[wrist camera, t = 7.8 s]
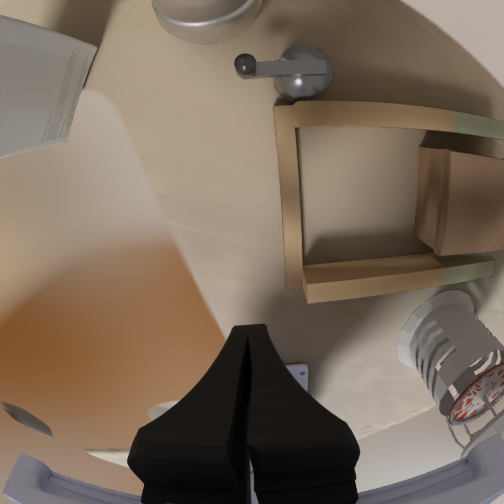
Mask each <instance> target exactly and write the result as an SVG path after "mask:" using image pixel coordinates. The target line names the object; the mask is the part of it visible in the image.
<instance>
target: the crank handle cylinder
mask: <svg viewBox="0 0 504 504" xmlns="http://www.w3.org/2000/svg"><path fill="white" fill-rule="evenodd" d="M234 64H235V68H236V72H237V74H238V76H239V77H241V78H243V79H253V78H267V77H274V86H275V89H276V91H277V92H278V94H279V95H280V96H281V97H283V98H284V99H286V100H288V101H291V102H297V101H307V100H309V99H310V98H312V97H313V96H315V95H317V94H318V93H320V92H321V91H323V90H324V89H326V88H327V87H328V85H329V84H330V82H331V80H332V77H333V68H332V64H331V62H330V60H329V58H328V57H327V56H326V55H325V54H324V53H323V52H322V51H321V50H319V49H317V48H315V47H312V46H308V45H298V46H294V47H292V48H290V49H288V50H287V51H285V52H284V54H283V55H282V56H281V58H280V60H279V61H266V62H256V60H255V58H254V57H253V56H252V55H250V54H241V55H239V56H237V58H236V59H235V62H234Z"/></svg>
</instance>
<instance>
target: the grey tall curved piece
mask: <svg viewBox="0 0 504 504" xmlns="http://www.w3.org/2000/svg"><path fill="white" fill-rule="evenodd" d="M475 317H476V316H475V315H474V304H473V302H472V300H471V298H470V296H469V295H468V294H466V293H464V292H462V291H460V290H450V291H443V292H441V293H439V294H437V295H435V296H433V297H431V298H429V299H428V300H427V301H425V302H424V303H423V304H422V305H421V306H420V307H419V308H418V309H417V310H415V311H414V312H413V313H412V315H411V316H410V318H409V319H408V321H407V322H406V324H405V325H404V327H403V328H402V329H401V333H400V336H399V339H398V343H397V351H398V358H399V359H400V360H401V361H402V362H403V363H404V364H405V365H406V366H409V367H414V368H417V370H418V372H419V373H420V375H421V373H422V375H423V376H421V377H422V379H423V380H424V382H425V384H426V386H427V388H428V389H429V391H430V393H431V395H432V397H433V399H434V401H435V403H436V405H437V407H438V408H439V410H440V412H441V414H443V415H444V416H445V417H446V421H447V424H448V428H449V430H450V432H451V434H452V436H453V438H454V440H455V441H456V443H457V444H458V445H459V446H460V447H461V448H462V449H463V452H462V454H461V458H463V457H466V456H467V454H468V453H469V451H470V450H471V449H472V448H473V447H474V446H476V445H477V444H479V443H480V442H482V441H484V440H486V439H488V438H490V437H492V436H494V435H495V434H497V433H500V434H501V436H502V438H503V440H504V409H503V410H502V411H501V412H500V413H499V414H498V415H496V413H495V411H494V410H493V408H492V406H493V405H494V404H497V401H498V402H499V399H501V398H502V396H503V395H504V346H503V345H502V344H501V343H500V342H499V341H498V339H497V338H496V337H495V336H493V335H492V333H491V332H490V331H489V329H488V328H485V326H484V324H483V323H482V322H481V321H480V320H478V318H477V317H476V319H477V320H476V319H475ZM481 324H482V325H483V327H482V325H481ZM488 332H489V333H490V334H489V333H488ZM490 335H491V336H490ZM497 350H499V351H500V356H501V361H500V364H498V365H495V363H496V360H497V357H498V354H497ZM493 351H494V353H493V357H492V361H491V363H490V364H489V366H488V367H487V368H486V369H485V370H484V371H483V372H481V373H479V374H477V375H475V374H474V371H476V370H477V369H479V368H480V367H481V366H482V365H483V364H484V363H485V362H486V361H487V360H488V358H489V354H490V352H493ZM481 357H483V358H482V359H481V360H480V361H479V362H478V363H477V364H475V365H473V366H472V367H469V366H470V365H472V364H473V363H474V362H476V361H477V360H478V359H479V358H481ZM438 364H440V365H441V368H440V370H439V371H437V370H436V368H435V366H436V365H438ZM451 384H453V385H454V387H455V388H456V390H457V399H456V401H455V400H454V398H453V396H452V395H451V393H450V391H449V390H448V388H449V386H450V385H451ZM432 393H433V394H432ZM489 409H490V410H491V411H492V413H493V415H494V416H495V417H494V418H493V419H492V420H490V421H489V422H488V423H487V424H486V425H485V426H484V427H483V428H482V429H481V430H479V431H477V432H475V433H473V434H471V433H470V432H469V430H468V428H467V426H466V423H469V422H470V421H471V422H472V420H473V421H474V419H477V417H480V416H481V415H483V414H484V413H486V411H488V410H489ZM448 416H449V419H448ZM450 423H451V425H454V426H455V425H463V426H464V428H465V430H466V432H467V433H468V435H469V436H470V442H469V443H468V444H467V445H466V446H465V447H464V446H462V445H461V444H460V443H459V442H458V440H457V439H456V437H455V435H454V433H453V430H452V428H451V426H450ZM474 435H475V436H474Z"/></svg>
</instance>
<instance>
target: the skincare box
mask: <svg viewBox="0 0 504 504" xmlns="http://www.w3.org/2000/svg"><path fill="white" fill-rule="evenodd" d="M96 51H97V47H96V46H94V45H92V44H90V43H87V42H84V41H82V40H79V39H76V38H73V37H71V36H68V35H65V34H62V33H59V32H56V31H53V30H50V29H47V28H44V27H41V26H38V25H35V24H32V23H28V22H25V21H21V20H18V19H14V18H10V17H6V16H2V15H0V159H1V158H4V157H7V156H11V155H14V154H18V153H22V152H26V151H29V150H34V149H37V148H41V147H46V146H51V145H55V144H60V143H65V142H66V141H67V138H68V134H69V130H70V127H71V123H72V119H73V115H74V112H75V109H76V106H77V103H78V99H79V96H80V93H81V90H82V88H83V85H84V82H85V79H86V76H87V73H88V70H89V68H90V65H91V62H92V60H93V58H94V55H95V53H96Z"/></svg>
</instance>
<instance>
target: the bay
mask: <svg viewBox="0 0 504 504" xmlns="http://www.w3.org/2000/svg"><path fill="white" fill-rule="evenodd" d="M273 111H274V121H275V132H276V143H277V155H278V167H279V180H280V193H281V207H282V222H283V237H284V254H285V272H286V287H287V290H289V289H300V288H303V290H304V293H305V296H306V300H307V303H308V304H309V303H319V302H328V301H337V300H346V299H354V298H362V297H370V296H377V295H384V294H391V293H398V292H405V291H412V290H418V289H424V288H431V287H437V286H442V285H448V284H454V283H459V282H465V281H470V280H475V279H481V278H486V277H491V276H492V275H493V271H494V267H495V262H496V260H495V259H493V258H492V257H490V256H489V255H488V254H486V253H485V252H481V253H469V254H456V255H445V256H438V255H437V254H435V253H434V252H432V253H423V254H414V255H404V256H395V257H385V258H375V259H365V260H355V261H345V262H334V263H323V264H313V265H303V264H302V235H301V213H300V194H299V178H298V163H297V149H296V137H295V128H299V127H340V126H347V127H388V128H406V129H419V130H430V131H440V132H449V133H457V134H465V135H472V136H478V137H485V138H492V139H499V140H504V121H500V120H496V119H491V118H487V117H482V116H478V115H473V114H468V113H462V112H457V111H451V110H444V109H438V108H430V107H423V106H414V105H405V104H393V103H380V102H361V101H297V102H296V103H295V104H293V105H284V106H274V107H273Z"/></svg>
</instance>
